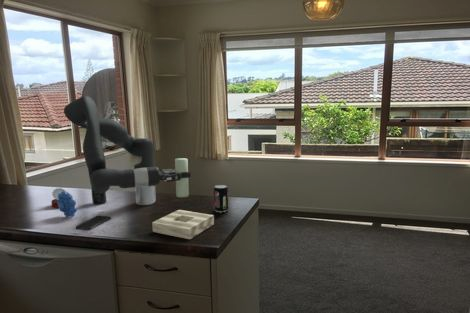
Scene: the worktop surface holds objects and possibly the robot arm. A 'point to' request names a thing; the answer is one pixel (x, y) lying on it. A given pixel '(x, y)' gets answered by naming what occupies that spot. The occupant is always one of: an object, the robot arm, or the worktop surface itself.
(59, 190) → the canned food
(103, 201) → the supplement bottle
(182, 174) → the robot arm
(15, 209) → the worktop surface
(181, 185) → the peg
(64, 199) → the grapes
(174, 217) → the socket block
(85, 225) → the phone
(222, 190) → the beverage can
